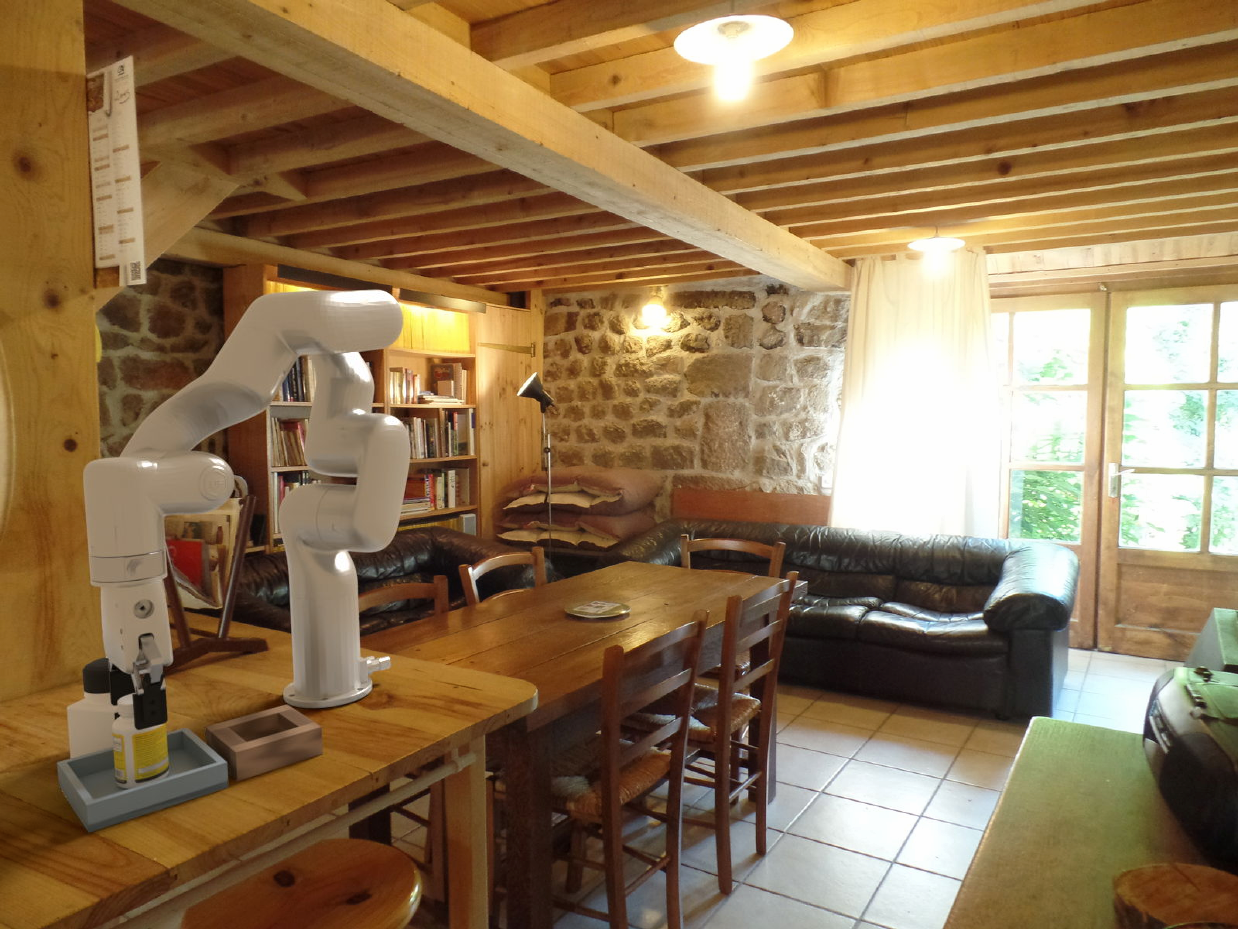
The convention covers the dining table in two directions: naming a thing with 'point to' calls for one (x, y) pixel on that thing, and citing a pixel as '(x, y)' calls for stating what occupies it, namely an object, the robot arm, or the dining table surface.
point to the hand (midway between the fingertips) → (138, 713)
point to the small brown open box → (264, 741)
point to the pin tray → (108, 804)
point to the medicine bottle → (92, 712)
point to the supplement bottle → (138, 749)
